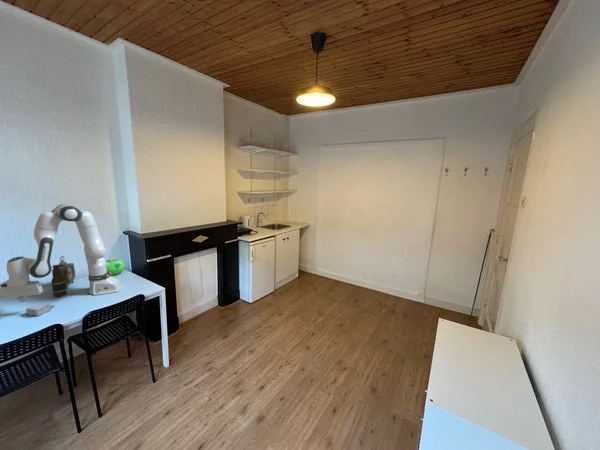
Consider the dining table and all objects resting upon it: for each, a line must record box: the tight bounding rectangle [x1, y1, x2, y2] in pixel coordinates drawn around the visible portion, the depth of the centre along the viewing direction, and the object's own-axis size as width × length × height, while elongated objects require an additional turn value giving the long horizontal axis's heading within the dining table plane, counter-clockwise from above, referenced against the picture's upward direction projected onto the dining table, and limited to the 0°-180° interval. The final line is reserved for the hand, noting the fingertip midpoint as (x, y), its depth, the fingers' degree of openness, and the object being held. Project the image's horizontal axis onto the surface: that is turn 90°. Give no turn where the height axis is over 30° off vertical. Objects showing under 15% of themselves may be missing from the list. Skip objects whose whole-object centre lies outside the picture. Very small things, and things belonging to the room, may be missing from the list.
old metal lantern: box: [51, 255, 76, 289], centre depth 203 cm, size 14×9×25 cm, turn 23°
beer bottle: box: [50, 264, 68, 299], centre depth 188 cm, size 8×8×24 cm
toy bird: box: [105, 257, 126, 276], centre depth 230 cm, size 18×17×15 cm
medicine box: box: [25, 302, 52, 317], centre depth 168 cm, size 8×4×9 cm
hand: (23, 301), depth 167 cm, fingers closed
